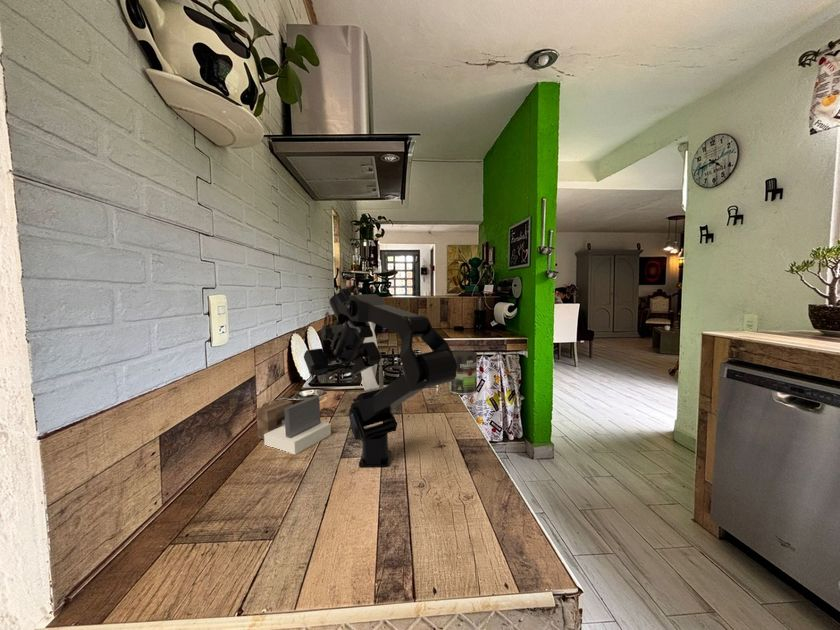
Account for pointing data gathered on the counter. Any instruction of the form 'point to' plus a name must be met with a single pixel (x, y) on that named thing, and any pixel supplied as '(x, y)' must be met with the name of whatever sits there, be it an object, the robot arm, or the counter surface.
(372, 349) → the robot arm
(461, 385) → the transparent upright cylinder
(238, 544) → the counter surface
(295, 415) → the grey piece
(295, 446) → the door block
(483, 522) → the counter surface
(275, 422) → the block
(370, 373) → the skyscraper
